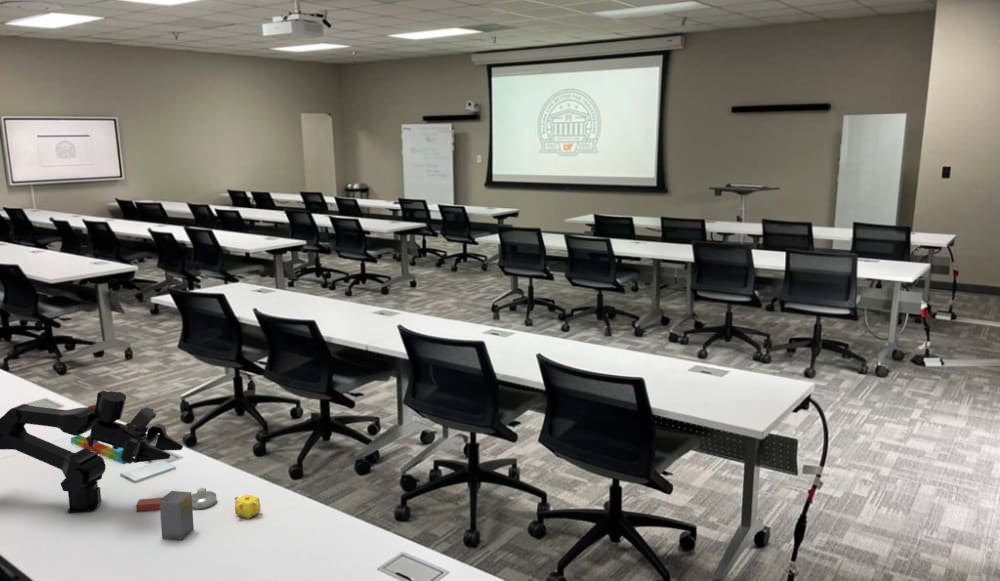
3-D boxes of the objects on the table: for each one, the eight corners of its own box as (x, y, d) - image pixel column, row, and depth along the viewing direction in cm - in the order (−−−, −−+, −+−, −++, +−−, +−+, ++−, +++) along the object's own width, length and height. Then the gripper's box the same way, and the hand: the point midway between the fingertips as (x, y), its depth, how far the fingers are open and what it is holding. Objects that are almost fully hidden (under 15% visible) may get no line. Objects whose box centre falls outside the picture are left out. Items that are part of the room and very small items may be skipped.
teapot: (225, 516, 188) (224, 498, 187) (242, 507, 193) (241, 489, 192) (248, 524, 185) (247, 505, 184) (265, 514, 190) (264, 495, 189)
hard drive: (161, 459, 221) (120, 472, 211) (175, 466, 216) (134, 479, 207) (161, 464, 222) (120, 477, 212) (176, 471, 217) (134, 485, 207)
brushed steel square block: (162, 538, 177) (159, 500, 175) (174, 528, 182) (171, 490, 180) (182, 540, 176) (179, 501, 174) (193, 529, 181) (191, 492, 180)
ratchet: (134, 515, 188) (133, 500, 188) (141, 503, 195) (140, 488, 194) (214, 508, 192) (213, 494, 192) (218, 497, 199) (217, 482, 198)
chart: (134, 461, 223) (130, 414, 220) (123, 465, 220) (120, 417, 217) (81, 440, 239) (77, 396, 236) (71, 443, 236) (67, 399, 234)
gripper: (110, 411, 178) (173, 430, 180) (141, 398, 197) (197, 415, 198) (96, 454, 178) (158, 473, 180) (128, 437, 197) (184, 454, 198)
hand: (176, 452), depth 189 cm, fingers open, 9 cm apart
